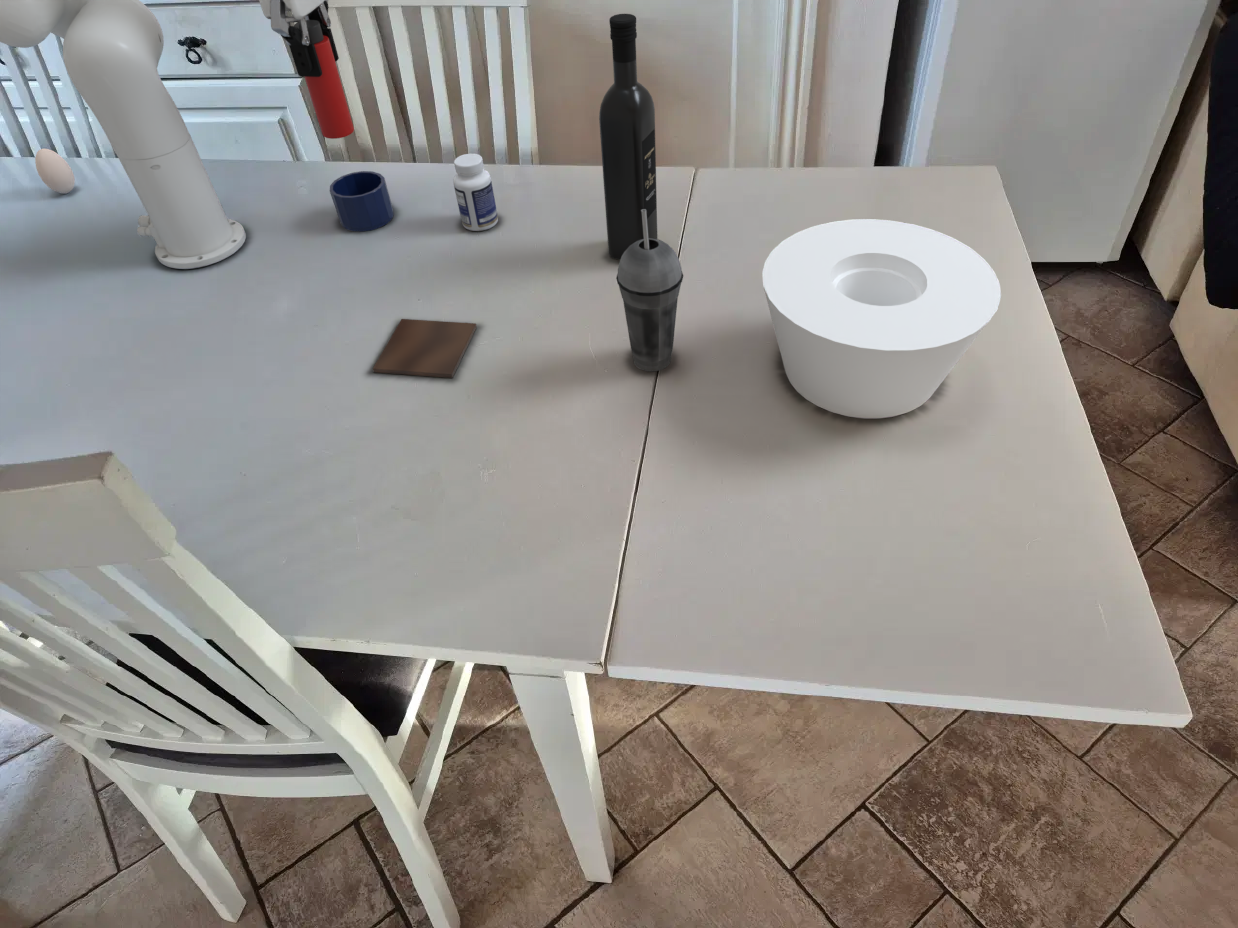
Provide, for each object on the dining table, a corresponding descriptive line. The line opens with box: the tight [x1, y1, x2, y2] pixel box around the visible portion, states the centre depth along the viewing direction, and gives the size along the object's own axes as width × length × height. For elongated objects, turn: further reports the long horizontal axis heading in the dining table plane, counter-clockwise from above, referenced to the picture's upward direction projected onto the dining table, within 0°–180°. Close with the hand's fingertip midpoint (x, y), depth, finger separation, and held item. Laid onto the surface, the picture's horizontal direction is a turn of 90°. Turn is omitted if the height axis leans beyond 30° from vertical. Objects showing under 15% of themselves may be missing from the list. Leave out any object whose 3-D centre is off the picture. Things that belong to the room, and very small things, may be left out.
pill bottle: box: [452, 153, 499, 232], centre depth 117 cm, size 5×5×10 cm
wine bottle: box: [598, 13, 658, 261], centre depth 102 cm, size 6×6×30 cm
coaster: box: [372, 318, 477, 379], centre depth 100 cm, size 10×10×1 cm
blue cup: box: [329, 170, 395, 232], centre depth 121 cm, size 8×8×6 cm
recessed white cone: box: [761, 218, 1002, 419], centre depth 89 cm, size 24×24×12 cm
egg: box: [34, 148, 76, 195], centre depth 132 cm, size 5×5×7 cm
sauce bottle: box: [293, 20, 355, 140], centre depth 109 cm, size 4×4×14 cm
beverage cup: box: [615, 209, 684, 372], centre depth 89 cm, size 7×7×20 cm
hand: (318, 66), depth 107 cm, fingers closed on sauce bottle, 4 cm apart
